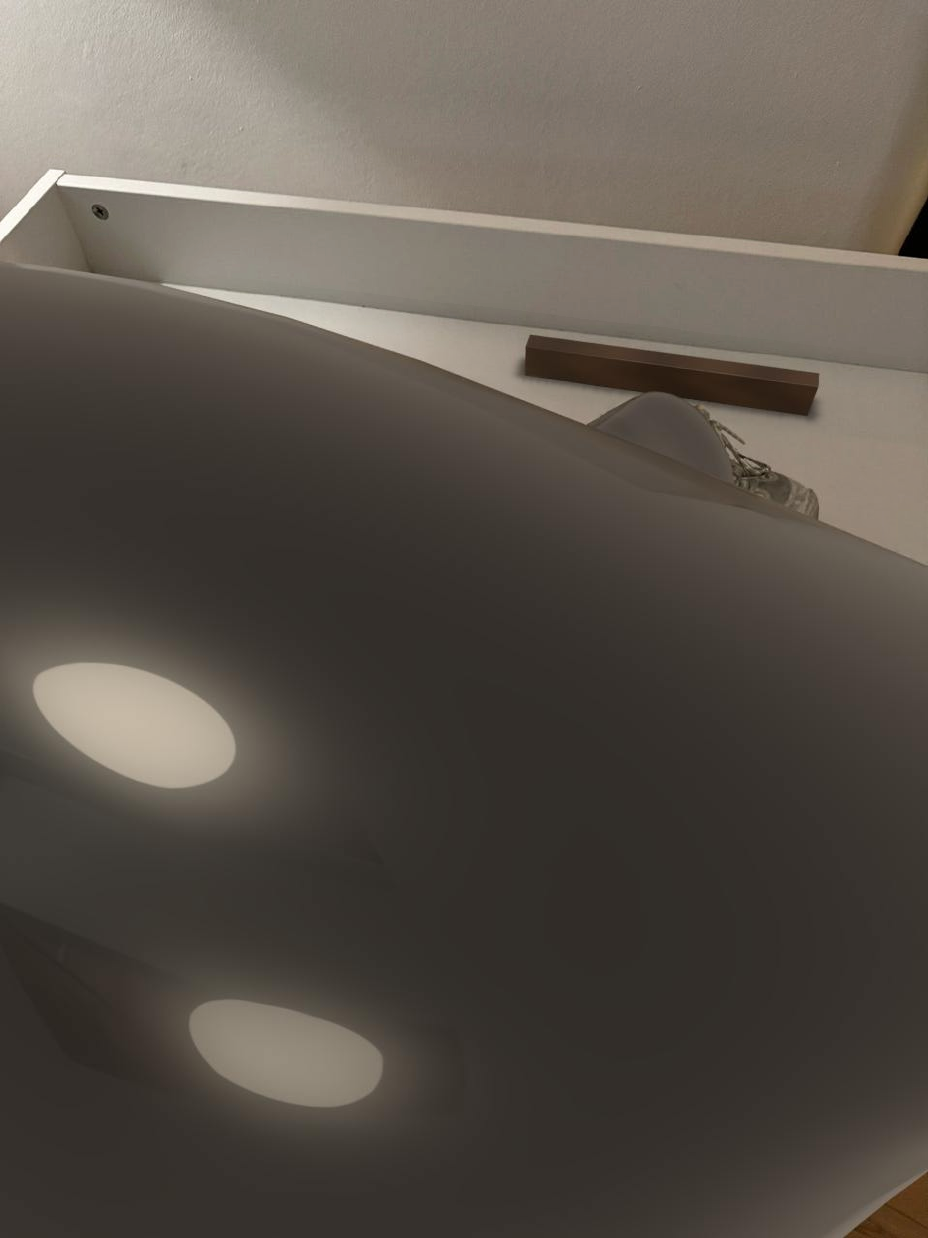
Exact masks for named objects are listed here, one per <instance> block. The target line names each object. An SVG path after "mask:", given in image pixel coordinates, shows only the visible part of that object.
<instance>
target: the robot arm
mask: <svg viewBox="0 0 928 1238" xmlns="http://www.w3.org/2000/svg"><path fill="white" fill-rule="evenodd" d="M694 406H695V405H693V404H691V403H690V402H687V400H685V399H684V398H683V397H677V396H675V395H672V394H669V393H665V392H655V391H653V392H642V393H640V394H639V395H636V396H634V397H632V398H630V399H628V400H626V401H624V402H622V403H621V404H619V405H618V406H615V407H616V408H615V407H613V408H614V409H613V408H611V409H612V410H611V409H610V411H609V410H608V411H609V412H607V411H606V412H607V413H606V412H605V413H604V414H601V415H602V416H600V415H599V416H600V418H597V417H596V418H597V419H594V420H592V421H589V422H588V423H586V424H585V423H583V422H581V421H578V420H575V419H573V418H570V417H567V416H565V415H562V414H559V413H558V412H555V411H552V410H550V409H547V408H544V407H542V406H540V405H536V404H535V403H532V402H529V401H526V400H524V399H521V398H519V397H516V396H513V395H511V394H508V393H506V392H504V391H501V390H498V389H495V388H493V387H491V386H488V385H485V384H483V383H480V382H478V381H475V380H473V379H470V378H468V377H465V376H462V375H460V374H457V373H454V372H453V371H451V370H450V371H449V370H447V369H445V368H442V367H439V366H436V365H434V364H431V363H429V362H427V361H425V360H424V361H423V360H421V359H418V358H416V357H412V356H409V355H405V354H403V353H399V352H396V351H393V350H390V349H387V348H384V347H381V346H378V345H375V344H372V343H369V342H365V341H363V340H360V339H356V338H353V337H350V336H347V335H345V334H342V333H338V332H335V331H332V330H328V329H326V328H323V327H319V326H316V325H313V324H311V323H307V322H304V321H301V320H298V319H295V318H291V317H289V316H284V315H282V314H277V313H273V312H270V311H267V310H262V309H257V308H254V307H250V306H246V305H243V304H238V303H235V302H230V301H227V300H222V299H218V298H215V297H210V296H206V295H202V294H199V293H195V292H191V291H187V290H183V289H179V288H176V287H171V286H169V285H168V286H167V285H163V284H160V283H156V282H153V281H146V280H140V279H134V278H129V277H128V278H127V277H120V276H114V275H108V274H101V273H94V272H88V271H80V270H76V269H75V270H74V269H67V268H61V267H54V266H47V265H41V264H35V263H27V262H20V261H9V260H8V261H7V260H0V1238H844V1237H846V1236H848V1234H849V1233H850V1232H852V1231H853V1230H854V1229H856V1228H857V1227H858V1226H859V1225H860V1224H862V1223H863V1222H864V1221H866V1219H868V1218H869V1217H870V1216H871V1215H873V1214H874V1213H875V1212H876V1211H877V1210H879V1209H880V1208H881V1207H883V1205H885V1204H886V1203H888V1202H889V1201H890V1200H891V1199H892V1198H894V1197H895V1196H897V1195H898V1194H900V1193H901V1192H902V1191H904V1190H905V1189H906V1188H907V1187H909V1186H911V1185H912V1184H913V1183H914V1182H916V1181H917V1180H918V1179H920V1178H921V1177H923V1176H924V1175H925V1174H927V1173H928V565H927V564H925V563H923V562H919V561H918V560H915V559H913V558H910V557H908V556H905V555H903V554H900V553H898V552H897V551H896V552H895V551H893V550H891V549H888V548H886V547H884V546H881V545H879V544H877V543H874V542H872V541H870V540H867V539H865V538H862V537H860V536H858V535H856V534H853V533H850V532H848V531H847V530H843V529H841V528H838V527H837V526H834V525H832V524H829V523H827V522H824V521H822V520H819V519H818V520H817V519H815V518H813V517H810V516H808V515H805V514H803V513H801V512H798V511H796V510H794V509H791V508H789V507H786V506H784V505H782V504H779V503H777V502H774V501H772V500H770V499H767V498H765V497H763V496H760V495H758V494H755V493H753V492H751V491H748V490H746V489H743V488H741V487H739V486H736V485H735V484H734V476H733V470H732V466H731V462H730V459H731V458H730V459H729V457H730V455H729V456H728V454H729V452H728V450H727V447H726V448H725V446H724V444H723V442H722V440H721V438H720V436H719V435H718V433H717V431H716V430H715V428H714V427H713V426H712V424H711V423H710V422H709V421H708V419H707V418H706V417H705V416H704V415H703V414H702V413H701V412H700V411H699V410H697V409H696V408H695V407H694Z"/></svg>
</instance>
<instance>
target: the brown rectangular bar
mask: <svg viewBox="0 0 928 1238" xmlns="http://www.w3.org/2000/svg"><path fill="white" fill-rule="evenodd" d="M524 350H525V351H524V352H525V353H524V355H525V356H524V376H529V377H530V376H531V377H538V378H543V379H544V378H545V379H551V380H558V381H565V382H572V383H580V384H584V385H585V384H587V385H593V386H601V387H607V388H614V389H621V390H626V391H627V390H629V391H635V392H640V393H641V392H642V393H647V392H653V391H655V392H665V393H669V394H672V395H675V396H677V397H679V398H682V399H689V400H696V401H705V402H712V403H718V404H724V405H732V406H738V407H746V408H752V409H760V410H767V411H774V412H781V413H788V414H794V415H802V416H808V415H809V413H810V410H811V408H812V405H813V402H814V400H815V398H816V395H817V392H818V390H819V387H820V386H819V385H820V373H819V372H812V371H805V370H797V369H790V368H784V367H777V366H776V367H774V366H768V365H760V364H752V363H747V362H746V363H745V362H739V361H731V360H724V359H716V358H708V357H703V356H694V355H687V354H686V355H685V354H679V353H671V352H663V351H657V350H649V349H643V348H642V349H641V348H635V347H634V348H633V347H627V346H621V345H620V346H618V345H612V344H611V345H610V344H604V343H597V342H591V341H582V340H575V339H567V338H559V337H552V336H544V335H536V334H529V336H528V339H527V341H526V344H525V349H524Z"/></svg>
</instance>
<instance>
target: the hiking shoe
mask: <svg viewBox="0 0 928 1238" xmlns="http://www.w3.org/2000/svg"><path fill="white" fill-rule="evenodd" d="M693 406H694V407H695V408H696V409H697V410H699V411H700V412H701V413H702V414H703V415H704V416H705V417H706V418H707V419H708V421H709V422H710V423H711V424H712V426H713V427H714V428H715V430H716V431H717V433H718V435H719V436H720V438H721V440H722V442H723V444H724V446H725V448H726V449H728V450H729V451H730V452H731V454H732V455H733V457H734V459H733V458H731V457H730V454H729V453H728V456H729V459H730V462H731V466H732V470H733V476H734V484H735V485H736V486H739V487H741V488H743V489H746V490H748V491H751V492H753V493H755V494H758V495H760V496H763V497H765V498H767V499H770V500H772V501H774V502H777V503H779V504H782V505H784V506H786V507H789V508H791V509H794V510H796V511H798V512H801V513H803V514H805V515H808V516H810V517H813V518H815V519H817V520H819V515H820V503H819V498H818V496H817V493H816V492H815V490H813V488H810V487H806V486H805V485H804V484H802V483H801V482H799V481H797V480H795V479H793V478H791V477H790V476H787V475H785V474H783V473H780V472H776V471H773V470H772V466H770V465H768V464H767V463H765V462H762V461H759V460H756V459H754V458H751V457H749V456H746V455H743V453H740V452H739V451H738V449H737V448H734V446H733V445H732V443H731V442H730V440H729V439H728V437H727V436H726V435H725V434H724V433H723V432H722V431H724V432H725V433H727V434H728V435H729V436H731V437H732V438H734V440H736V441H738V442H739V443H740V444H742V445H746V441H745V440H743V438H741V436H739V435H738V434H737V433H735V432H734V431H732V430H731V429H730V428H728V426H726V425H724V424H722V423H721V422H719V421H718V420H716V419H715V418H713V419H711V416H710V414H711V413H710V412H709V411H708V410H707V408H706V407H705V406H704V405H703V404H701V403H697V404H695V405H693ZM616 407H617V406H615V407H613V408H611V409H610V410H612V409H614V408H616ZM610 410H607V411H606V412H605V413H607V412H609V411H610ZM602 415H603V414H599V415H598V416H597V417H596V419H597V418H600V416H602ZM748 461H749V462H752V463H753V464H755V465H757V466H753V465H752V464H750V463H749V462H748Z"/></svg>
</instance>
